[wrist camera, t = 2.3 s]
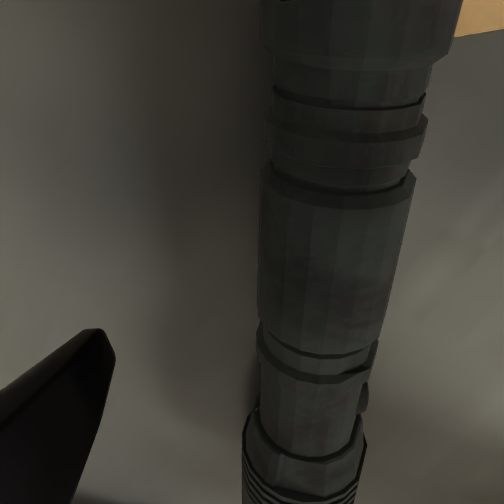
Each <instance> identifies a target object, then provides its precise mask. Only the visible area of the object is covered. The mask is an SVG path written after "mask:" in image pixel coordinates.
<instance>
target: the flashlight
mask: <svg viewBox="0 0 504 504" xmlns="http://www.w3.org/2000/svg"><path fill="white" fill-rule="evenodd" d="M462 4H463V0H260V40H261V42H262V44H263V45H264V46H265V47H266V48H267V49H268V50H269V51H270V52H271V53H272V54H273V82H274V84H275V85H274V86H273V87H272V105H271V106H269V107H268V109H267V110H266V111H265V112H264V123H263V136H264V140H265V143H266V144H268V145H269V146H270V156H271V159H269V160H268V161H267V162H266V163H265V165H264V166H263V168H262V169H261V181H260V216H259V252H258V287H257V307H258V316H259V318H260V319H261V322H260V324H259V327H258V330H257V341H256V346H257V358H258V360H259V362H260V364H261V390H260V393H259V394H258V395H257V398H256V401H255V405H254V408H253V410H252V412H251V413H250V414H249V415H248V417H247V420H246V423H245V426H244V429H243V432H242V504H353V503H354V499H355V495H356V491H357V487H358V483H359V478H360V474H361V470H362V466H363V462H364V457H365V453H366V449H367V443H366V440H365V436H364V433H363V423H362V417H361V414H360V413H362V412H364V411H365V410H366V408H367V404H368V397H369V391H368V383H367V381H368V380H369V376H370V373H371V369H372V366H373V362H374V359H375V355H376V351H377V346H378V338H379V334H380V331H381V327H382V324H383V320H384V317H385V313H386V309H387V305H388V301H389V296H390V292H391V288H392V283H393V279H394V274H395V270H396V266H397V261H398V257H399V253H400V248H401V244H402V239H403V235H404V231H405V226H406V222H407V218H408V213H409V209H410V204H411V200H412V196H413V191H414V187H415V183H416V177H415V176H414V175H413V174H412V172H411V171H410V170H409V169H408V167H409V165H410V162H411V160H413V159H415V158H418V155H419V153H420V150H421V147H422V144H423V141H424V137H425V132H426V128H427V124H428V119H427V118H426V117H425V116H424V115H423V114H422V110H423V106H424V101H425V96H426V93H425V90H426V88H427V86H428V83H429V78H430V73H431V69H432V64H433V63H435V62H436V61H438V60H439V59H440V58H442V57H443V56H445V55H446V54H448V52H449V49H450V47H451V45H452V41H453V37H454V34H455V30H456V26H457V22H458V19H459V15H460V11H461V7H462Z"/></svg>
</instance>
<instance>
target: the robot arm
mask: <svg viewBox="0 0 504 504" xmlns="http://www.w3.org/2000/svg"><path fill="white" fill-rule="evenodd" d="M115 362H116V357H115V353H114V350H113V348H112V346H111V344H110V342H109V340H108V337H107V335H106V333H105V332H104V330H102V329H100V328H95V329H85V330H83V331H81V332H80V333H79V334H77V335H76V336H74V337H73V338H72V339H70V340H69V341H68V342H66V343H65V344H64V345H62V346H61V347H59V348H58V349H57V350H55V351H54V352H53V353H51V354H50V355H48V356H47V357H46V358H44V359H43V360H42V361H40V362H39V363H38V364H36V365H35V366H33V367H32V368H31V369H29V370H28V371H27V372H25V373H24V374H22V375H21V376H20V377H18V378H17V379H16V380H14V381H13V382H11V383H10V384H9V385H7V386H6V387H5V388H3V389H2V390H1V391H0V504H71V502H72V500H73V497H74V494H75V492H76V489H77V486H78V483H79V481H80V478H81V475H82V472H83V470H84V467H85V464H86V461H87V459H88V456H89V453H90V450H91V448H92V445H93V442H94V439H95V437H96V434H97V431H98V428H99V425H100V422H101V418H102V415H103V411H104V407H105V403H106V399H107V395H108V391H109V387H110V383H111V379H112V375H113V371H114V367H115Z"/></svg>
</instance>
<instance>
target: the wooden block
mask: <svg viewBox="0 0 504 504" xmlns="http://www.w3.org/2000/svg"><path fill="white" fill-rule="evenodd" d="M500 29H504V0H463V4H462V7H461V11H460V15H459V19H458V22H457V26H456V30H455V34H454V37H459V36H465V35H471V34H477V33H483V32H489V31H494V30H500Z"/></svg>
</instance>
